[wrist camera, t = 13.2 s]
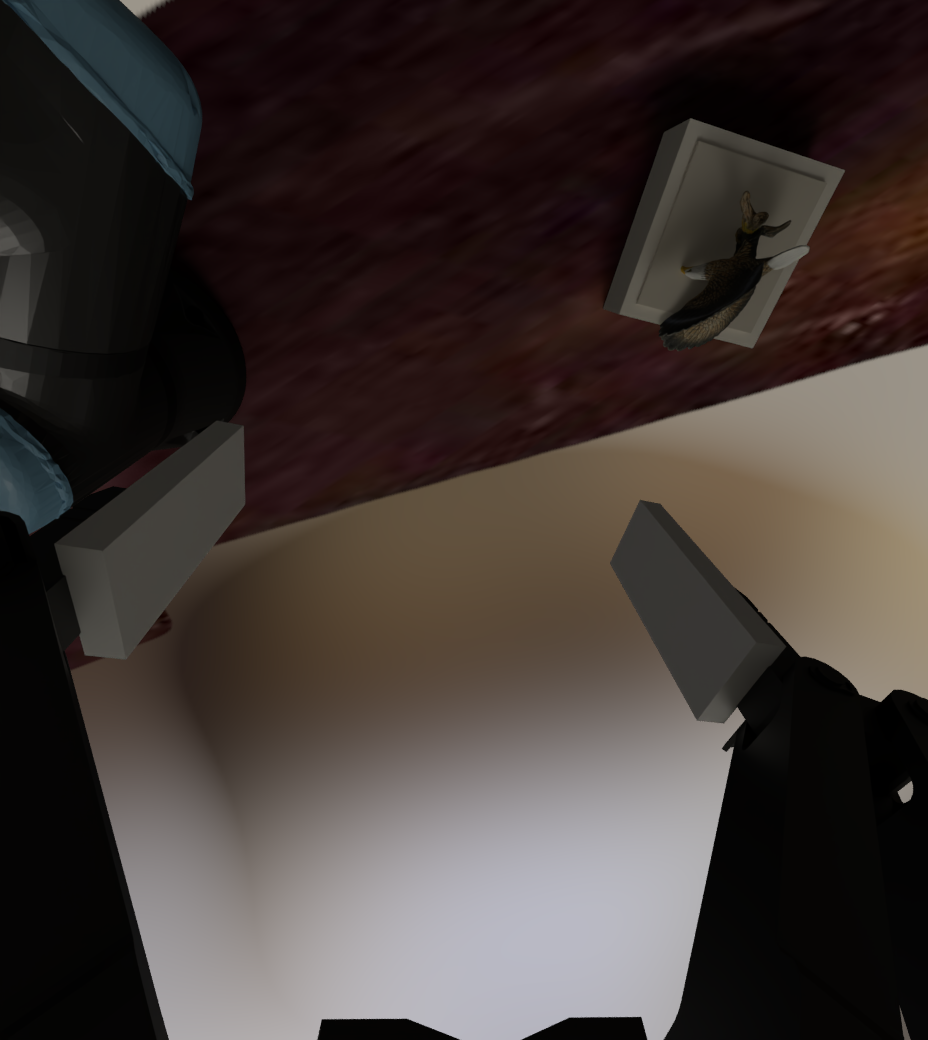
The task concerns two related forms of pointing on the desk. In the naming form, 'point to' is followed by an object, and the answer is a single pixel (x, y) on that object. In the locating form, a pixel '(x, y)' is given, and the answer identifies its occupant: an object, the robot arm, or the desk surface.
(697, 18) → the desk surface
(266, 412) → the desk surface
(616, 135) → the desk surface
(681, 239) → the tray
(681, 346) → the eagle figurine
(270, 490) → the desk surface
